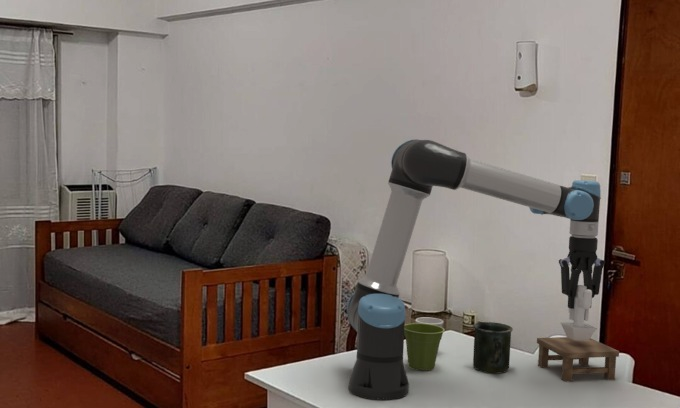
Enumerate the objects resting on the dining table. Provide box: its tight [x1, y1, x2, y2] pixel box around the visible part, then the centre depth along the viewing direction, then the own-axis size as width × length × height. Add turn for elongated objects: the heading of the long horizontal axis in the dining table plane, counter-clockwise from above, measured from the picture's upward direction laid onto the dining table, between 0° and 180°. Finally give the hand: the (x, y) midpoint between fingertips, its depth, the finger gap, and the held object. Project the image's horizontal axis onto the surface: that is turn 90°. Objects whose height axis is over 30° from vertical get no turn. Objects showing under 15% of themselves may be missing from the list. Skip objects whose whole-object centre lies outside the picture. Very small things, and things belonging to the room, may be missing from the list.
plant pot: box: [404, 322, 446, 372], centre depth 212 cm, size 12×12×11 cm
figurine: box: [560, 284, 598, 340], centre depth 212 cm, size 7×9×15 cm
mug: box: [472, 321, 514, 374], centre depth 212 cm, size 11×15×12 cm
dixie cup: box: [415, 316, 444, 328], centre depth 227 cm, size 8×8×10 cm
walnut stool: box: [536, 336, 620, 383], centre depth 213 cm, size 16×16×8 cm
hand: (578, 319), depth 212 cm, fingers closed on figurine, 3 cm apart
